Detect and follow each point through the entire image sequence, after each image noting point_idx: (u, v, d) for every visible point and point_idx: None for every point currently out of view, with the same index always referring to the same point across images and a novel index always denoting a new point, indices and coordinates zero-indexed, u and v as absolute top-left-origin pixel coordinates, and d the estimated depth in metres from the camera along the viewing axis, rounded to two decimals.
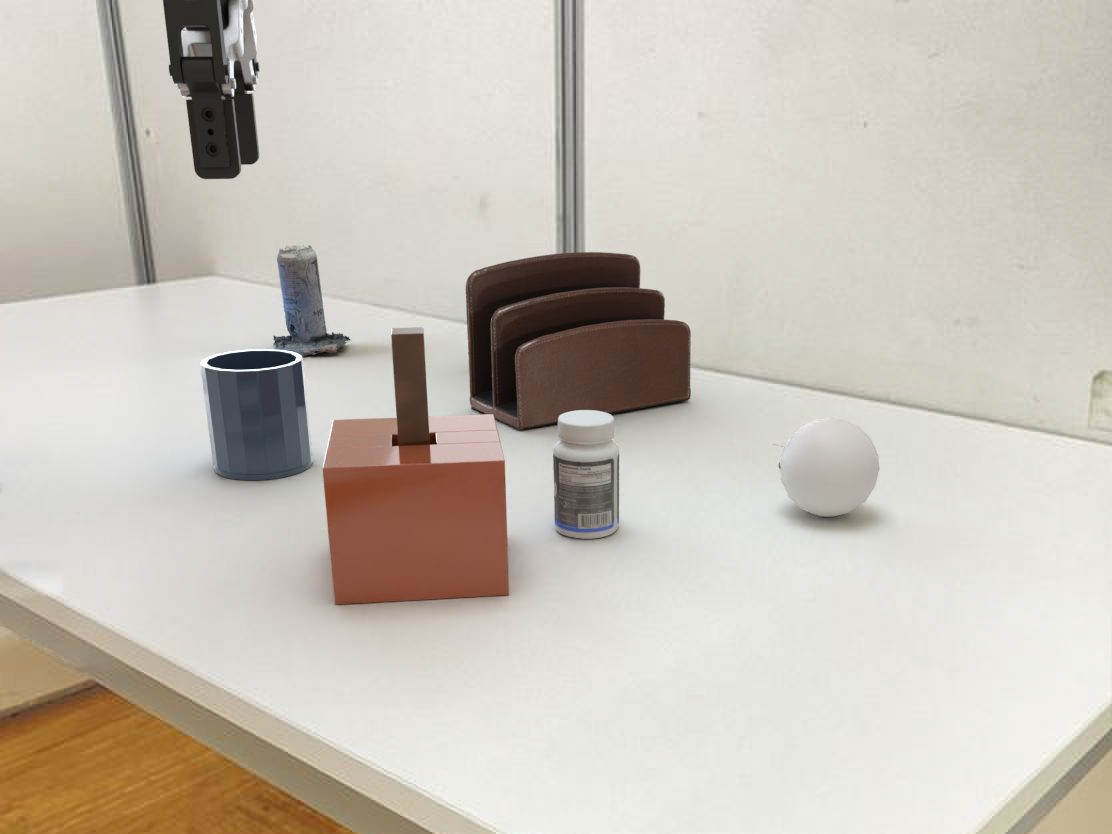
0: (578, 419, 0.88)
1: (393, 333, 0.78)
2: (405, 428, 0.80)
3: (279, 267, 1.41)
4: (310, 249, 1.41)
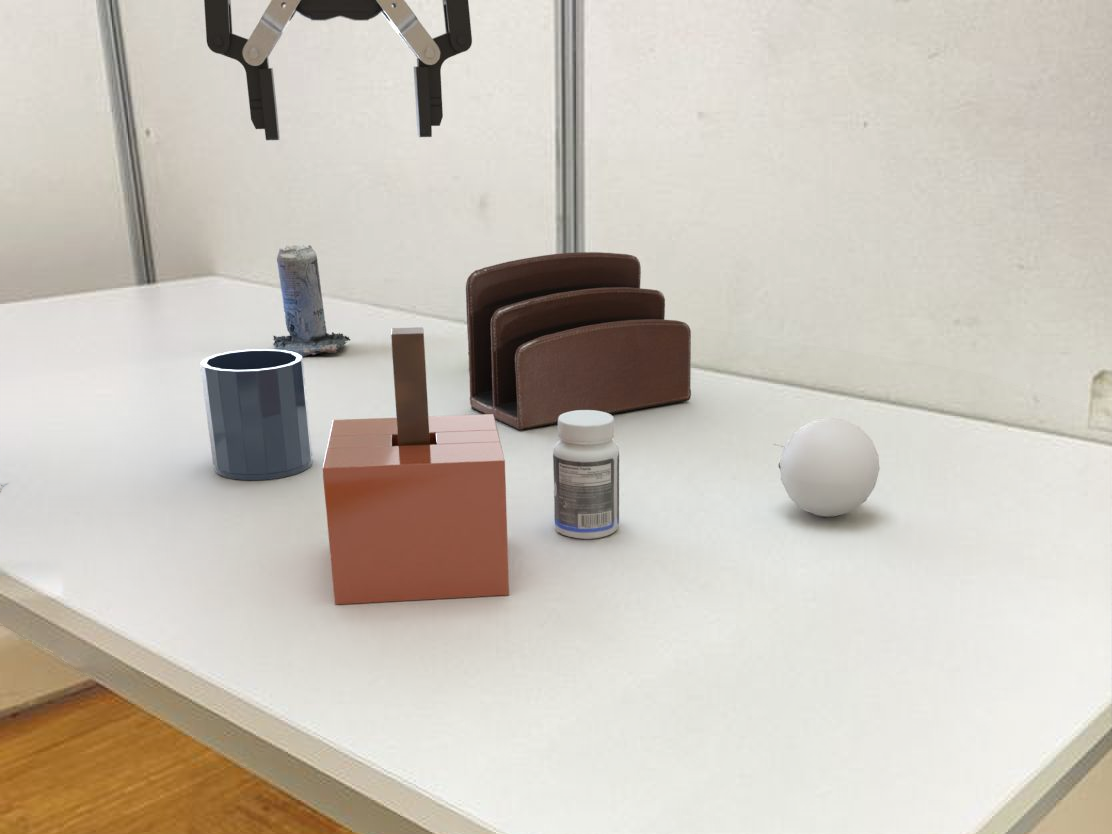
0: (578, 419, 0.88)
1: (393, 333, 0.78)
2: (405, 428, 0.80)
3: (279, 267, 1.41)
4: (310, 249, 1.41)
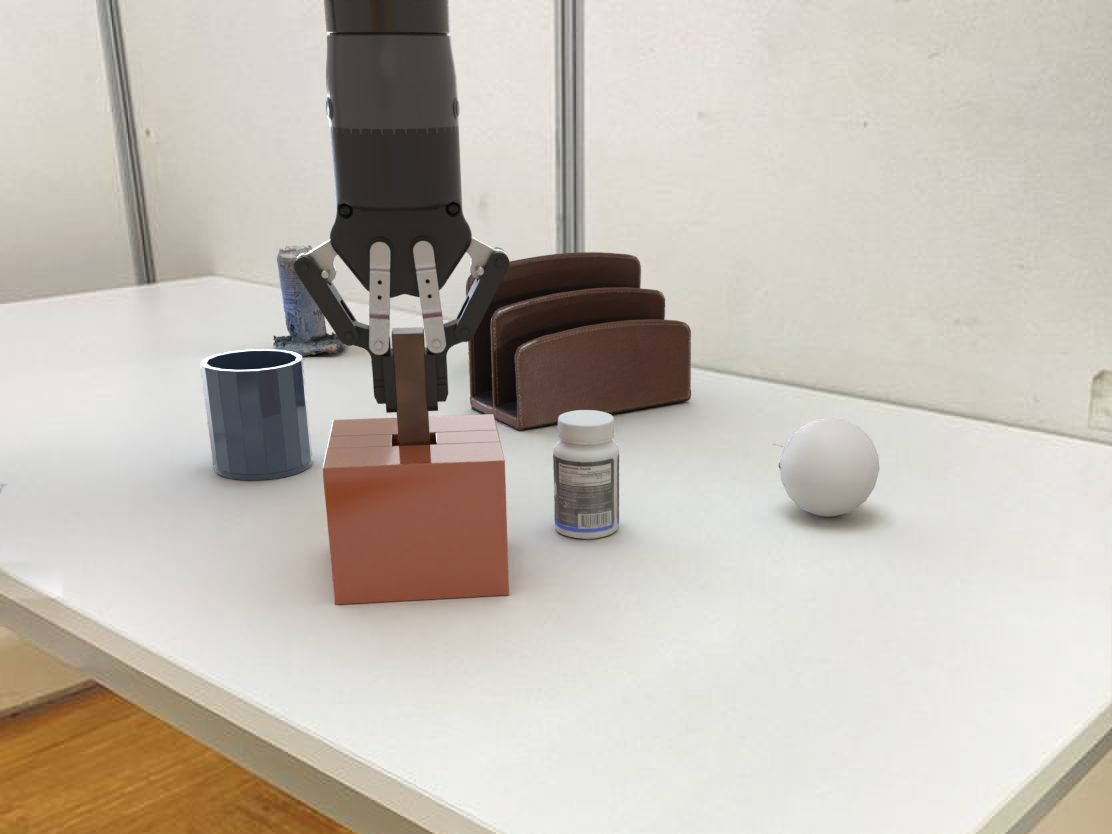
0: (578, 419, 0.88)
1: (393, 333, 0.78)
2: (405, 428, 0.80)
3: (279, 267, 1.41)
4: (310, 249, 1.41)
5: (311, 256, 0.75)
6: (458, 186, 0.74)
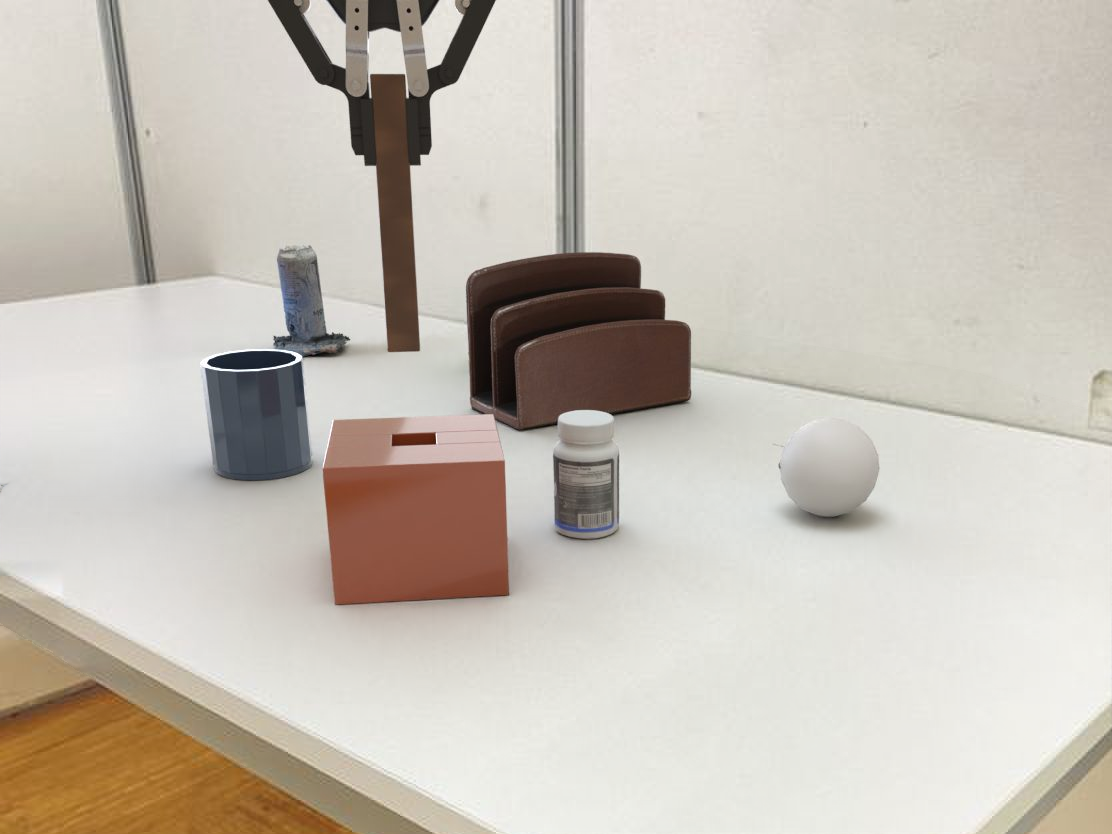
0: (578, 419, 0.88)
1: (372, 74, 0.72)
2: (386, 184, 0.74)
3: (279, 267, 1.41)
4: (310, 249, 1.41)
5: None
6: None
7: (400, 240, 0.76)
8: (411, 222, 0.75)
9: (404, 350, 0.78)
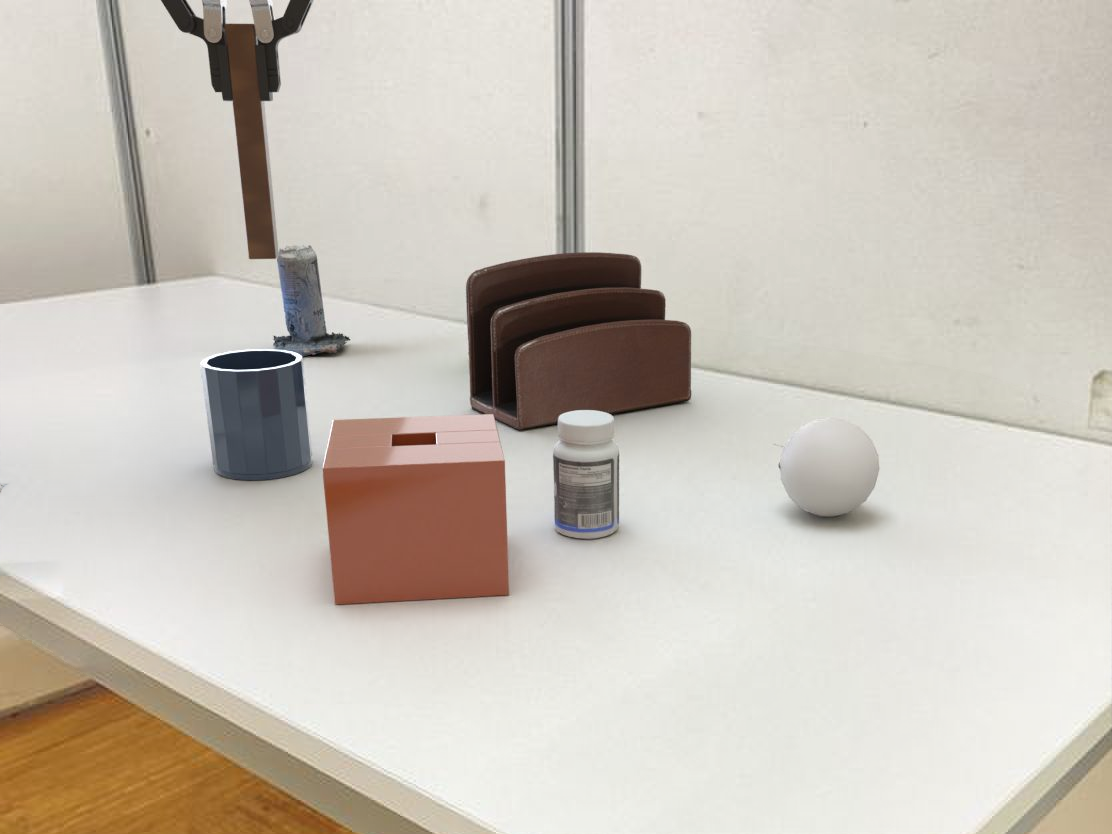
0: (578, 419, 0.88)
1: None
2: (241, 116, 0.90)
3: (279, 267, 1.41)
4: (310, 249, 1.41)
5: None
6: None
7: (255, 163, 0.91)
8: (264, 148, 0.91)
9: (262, 257, 0.94)
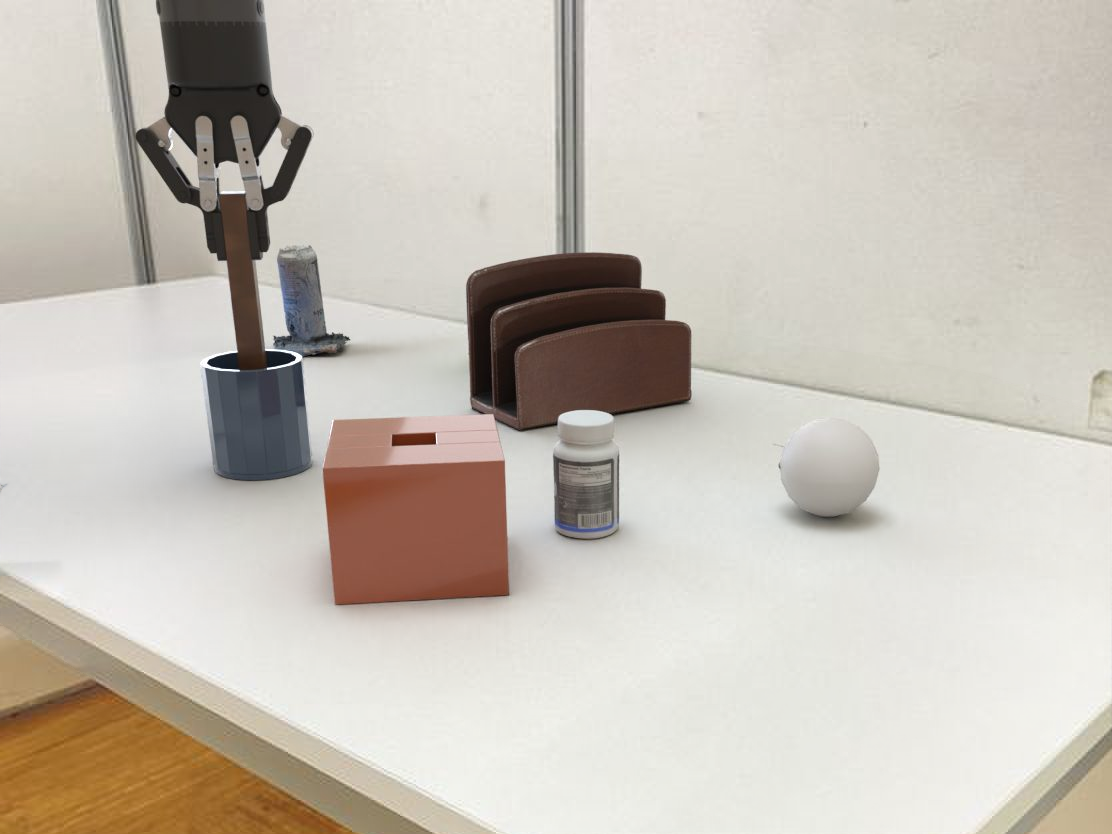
0: (578, 419, 0.88)
1: (220, 193, 0.96)
2: (234, 273, 0.99)
3: (279, 267, 1.41)
4: (310, 249, 1.41)
5: (150, 129, 0.94)
6: (265, 71, 0.93)
7: (248, 315, 1.00)
8: (255, 301, 1.00)
9: None
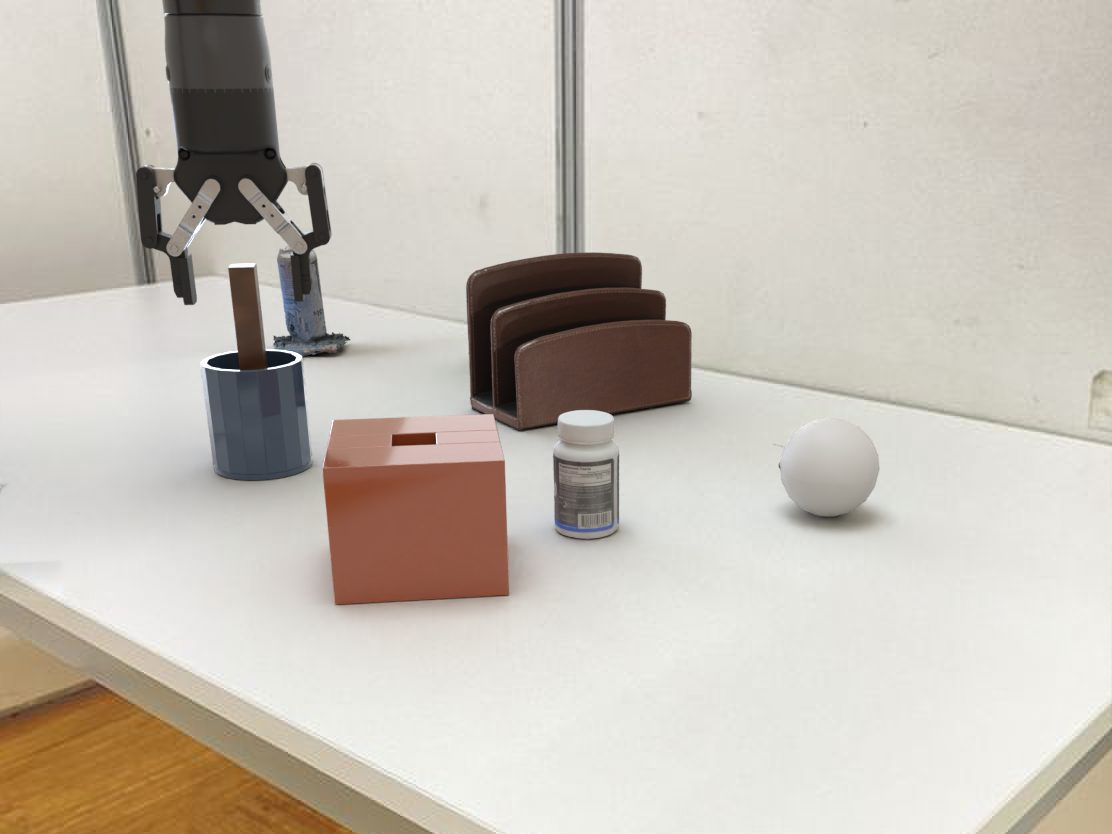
0: (578, 419, 0.88)
1: (230, 267, 0.99)
2: (243, 343, 1.01)
3: (279, 267, 1.41)
4: None
5: (154, 171, 0.95)
6: (273, 135, 0.95)
7: None
8: None
9: None
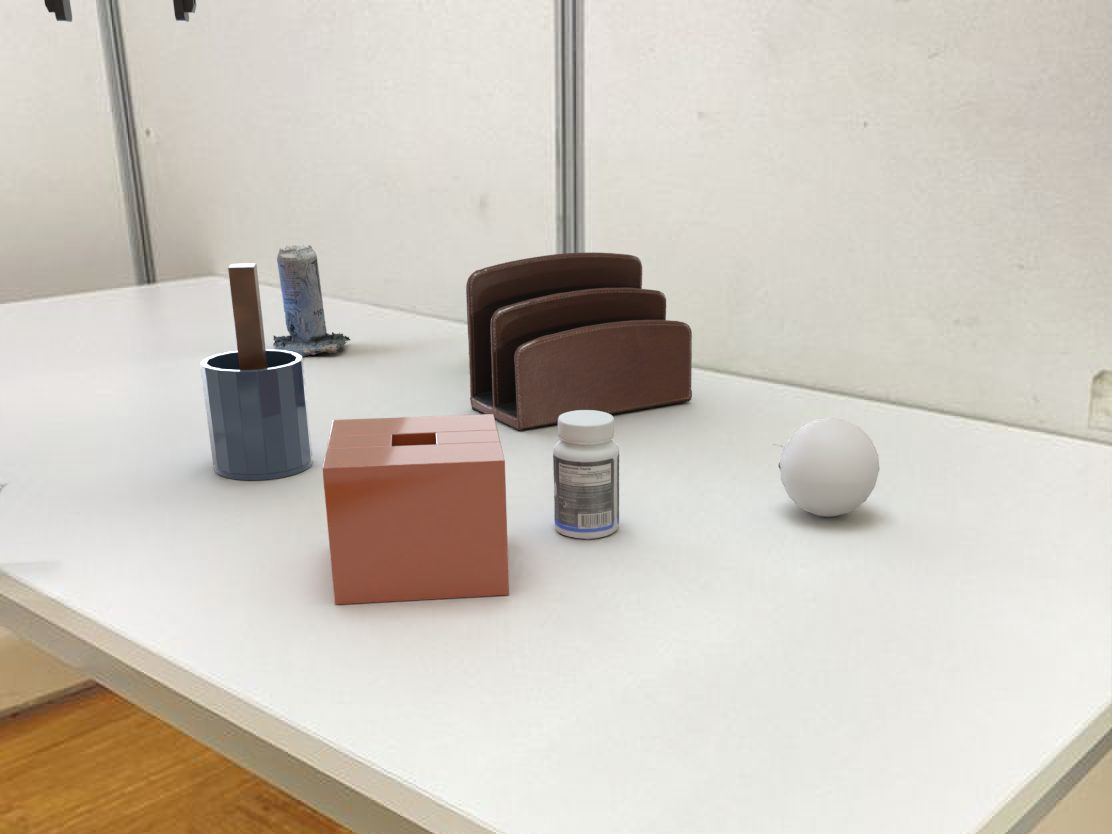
0: (578, 419, 0.88)
1: (230, 267, 0.99)
2: (243, 343, 1.01)
3: (279, 267, 1.41)
4: (310, 249, 1.41)
5: None
6: None
7: None
8: None
9: None
